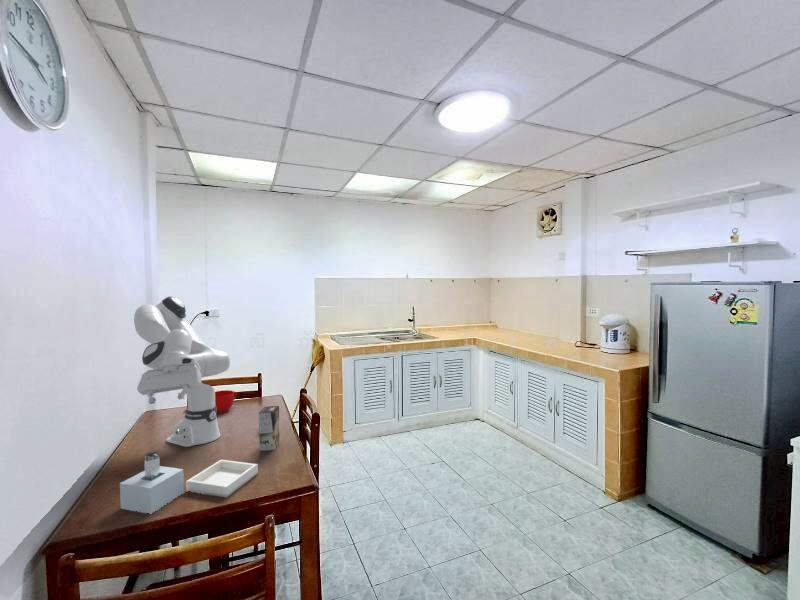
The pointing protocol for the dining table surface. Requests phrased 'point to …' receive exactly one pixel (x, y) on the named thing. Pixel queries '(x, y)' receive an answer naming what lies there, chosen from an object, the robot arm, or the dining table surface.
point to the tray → (222, 478)
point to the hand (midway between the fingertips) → (166, 400)
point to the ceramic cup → (224, 400)
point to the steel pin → (152, 466)
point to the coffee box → (269, 428)
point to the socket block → (151, 490)
